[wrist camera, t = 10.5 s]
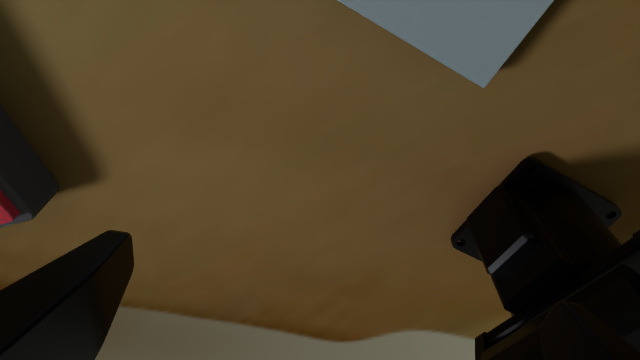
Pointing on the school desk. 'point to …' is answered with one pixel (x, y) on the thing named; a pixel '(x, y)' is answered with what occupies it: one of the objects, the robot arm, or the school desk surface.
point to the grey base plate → (458, 29)
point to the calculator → (21, 176)
